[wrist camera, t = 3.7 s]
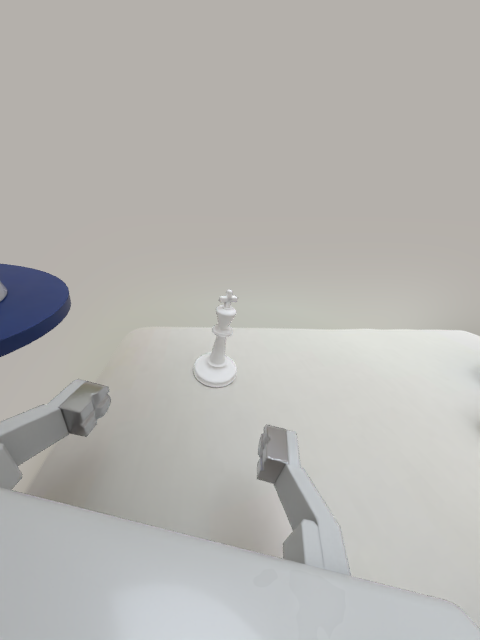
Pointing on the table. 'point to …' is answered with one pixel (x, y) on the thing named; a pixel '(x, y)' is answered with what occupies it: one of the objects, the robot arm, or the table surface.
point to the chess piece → (218, 349)
